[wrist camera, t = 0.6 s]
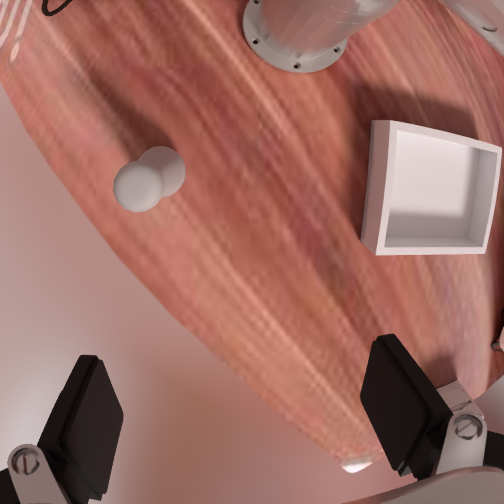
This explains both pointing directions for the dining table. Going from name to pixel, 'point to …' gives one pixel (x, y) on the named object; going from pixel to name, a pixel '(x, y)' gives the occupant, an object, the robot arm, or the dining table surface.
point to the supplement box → (458, 398)
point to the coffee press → (502, 342)
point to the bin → (428, 191)
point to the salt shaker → (149, 179)
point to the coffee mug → (47, 13)
